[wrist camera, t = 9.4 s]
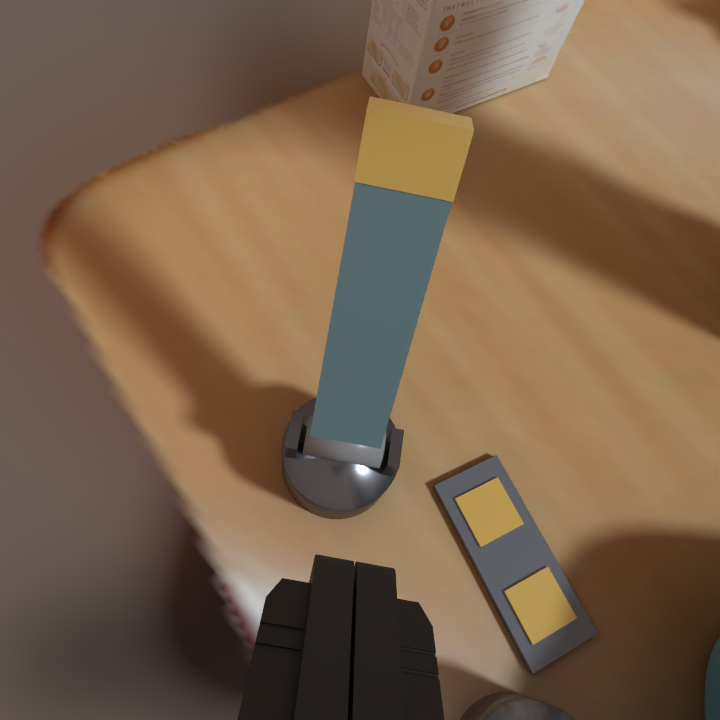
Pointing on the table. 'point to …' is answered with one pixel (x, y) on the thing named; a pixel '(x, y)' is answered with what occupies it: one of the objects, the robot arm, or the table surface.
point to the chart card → (515, 564)
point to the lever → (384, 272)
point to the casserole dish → (713, 685)
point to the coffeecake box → (462, 48)
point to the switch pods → (354, 496)
